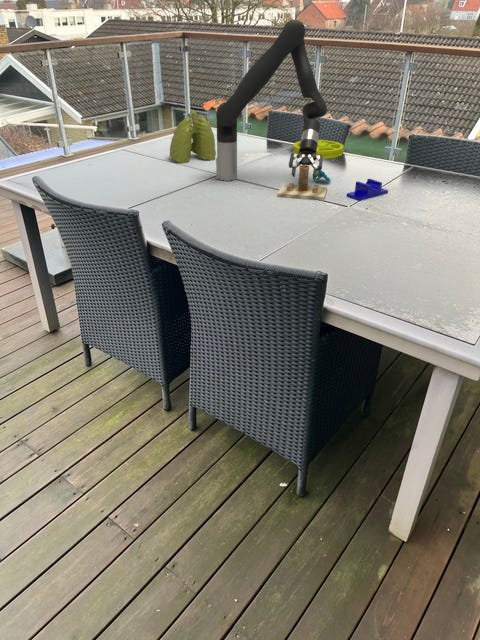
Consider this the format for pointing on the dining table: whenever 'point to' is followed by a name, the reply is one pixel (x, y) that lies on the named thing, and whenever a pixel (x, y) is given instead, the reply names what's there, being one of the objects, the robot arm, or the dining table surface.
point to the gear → (320, 175)
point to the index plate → (302, 192)
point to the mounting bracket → (367, 190)
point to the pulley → (324, 149)
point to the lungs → (193, 139)
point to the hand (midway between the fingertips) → (303, 176)
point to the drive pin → (303, 177)
